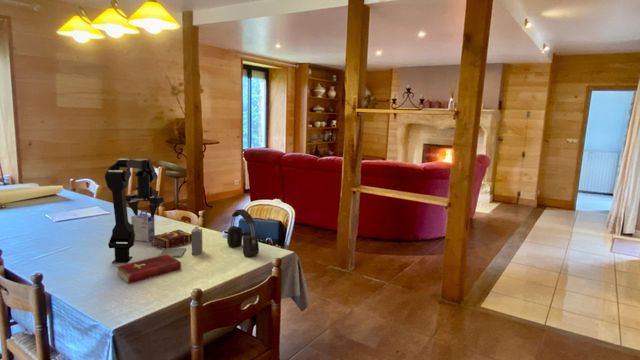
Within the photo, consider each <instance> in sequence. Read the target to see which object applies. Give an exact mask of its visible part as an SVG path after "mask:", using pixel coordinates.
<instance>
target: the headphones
mask: <svg viewBox="0 0 640 360" xmlns="http://www.w3.org/2000/svg"><path fill="white" fill-rule="evenodd" d="M239 216H241V217H242V218H243V219H244V220H245V223H246V224H247V225H249V227H250V230H251V231H250V232H251V233H250V234H248V235H247V234H246V235H244V236H243V229H242V227H240V226H237V225H235V220H236V218H237V217H239ZM231 217H232V218H231V222H230V224H231V225H230V226H229V228H228V229H227V236H226V237H227V238H226V240H227V241H226V242H227V245H228V246H229V247H230V248H237V247H240V246H242V254H243V256H244V257H248V258H249V257H254V256H257V255H258V254H259V253H260V247H259V246H260V245H259V238H258V236H257V235H256V234H255V228H254V225H253V223H254V219H253V217H252V216H251V214H250V213H249V212H248V211H247V210H246V209H243V208H241V209H235V210H234V212H233V213H231Z"/></svg>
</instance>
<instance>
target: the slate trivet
mask: <svg viewBox="0 0 640 360" xmlns="http://www.w3.org/2000/svg"><path fill="white" fill-rule="evenodd" d="M186 251H187V247H173V248H162V250H161V251H160V253H158V255H157V256H161V255H165V254H169V255H171V256H172V257H174V258H182V257H183V256H184V254H185V252H186Z"/></svg>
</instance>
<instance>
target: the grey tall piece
mask: <svg viewBox="0 0 640 360" xmlns="http://www.w3.org/2000/svg"><path fill="white" fill-rule="evenodd" d="M190 234H191V238H192V242H191V255H192V256H200V255H202V253H203V252H204V251H203V228H199V225H195V226H194V228H193V229H192V230H191V233H190Z"/></svg>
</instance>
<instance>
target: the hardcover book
mask: <svg viewBox="0 0 640 360" xmlns="http://www.w3.org/2000/svg"><path fill="white" fill-rule="evenodd" d="M115 268H116V269H117V275H118V276H119V277H120V278H121V279H122V280H124V281H125V282H126V283H127V285H129V284H130V283H131V284H135V283H137V282H141V281H144V280H148V279H152V278H154V277H160V276H163V275H165V274H167V275H168V274H170V273H173V272H177V271H181V270H182V262H181V260H179V259H178V258H177V257H172V256H171V255H169V254H165V255H161V256H158V255H157V256H154V257H153V256H152V257H148V258H145V259H141V260H137V261H133V262H128V263H123V264H119V265H116V266H115Z"/></svg>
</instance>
